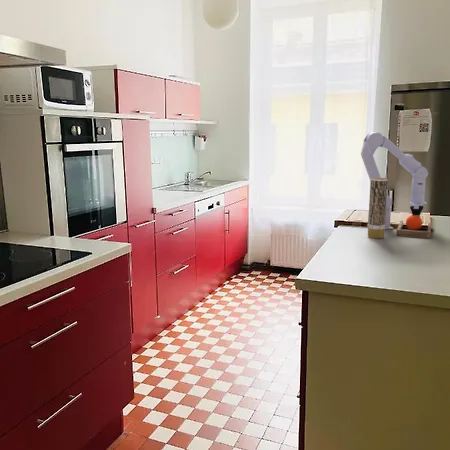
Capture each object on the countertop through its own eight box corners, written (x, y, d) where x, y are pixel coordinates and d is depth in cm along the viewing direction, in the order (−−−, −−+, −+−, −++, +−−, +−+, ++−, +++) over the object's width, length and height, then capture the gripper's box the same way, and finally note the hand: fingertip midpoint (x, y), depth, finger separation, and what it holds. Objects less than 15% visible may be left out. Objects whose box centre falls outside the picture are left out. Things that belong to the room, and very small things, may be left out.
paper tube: (382, 235, 205) (385, 177, 200) (385, 239, 198) (389, 179, 193) (366, 235, 206) (369, 177, 200) (369, 238, 199) (372, 179, 194)
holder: (429, 238, 199) (430, 232, 198) (396, 235, 204) (396, 229, 204) (431, 228, 217) (431, 222, 217) (400, 225, 223) (400, 220, 222)
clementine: (423, 228, 216) (424, 213, 214) (425, 232, 209) (426, 216, 208) (404, 228, 218) (405, 212, 217) (405, 231, 212) (407, 215, 210)
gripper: (427, 195, 206) (424, 225, 209) (427, 190, 219) (425, 219, 222) (409, 194, 209) (407, 224, 212) (411, 189, 222) (409, 218, 225)
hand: (415, 221), depth 217 cm, fingers closed
